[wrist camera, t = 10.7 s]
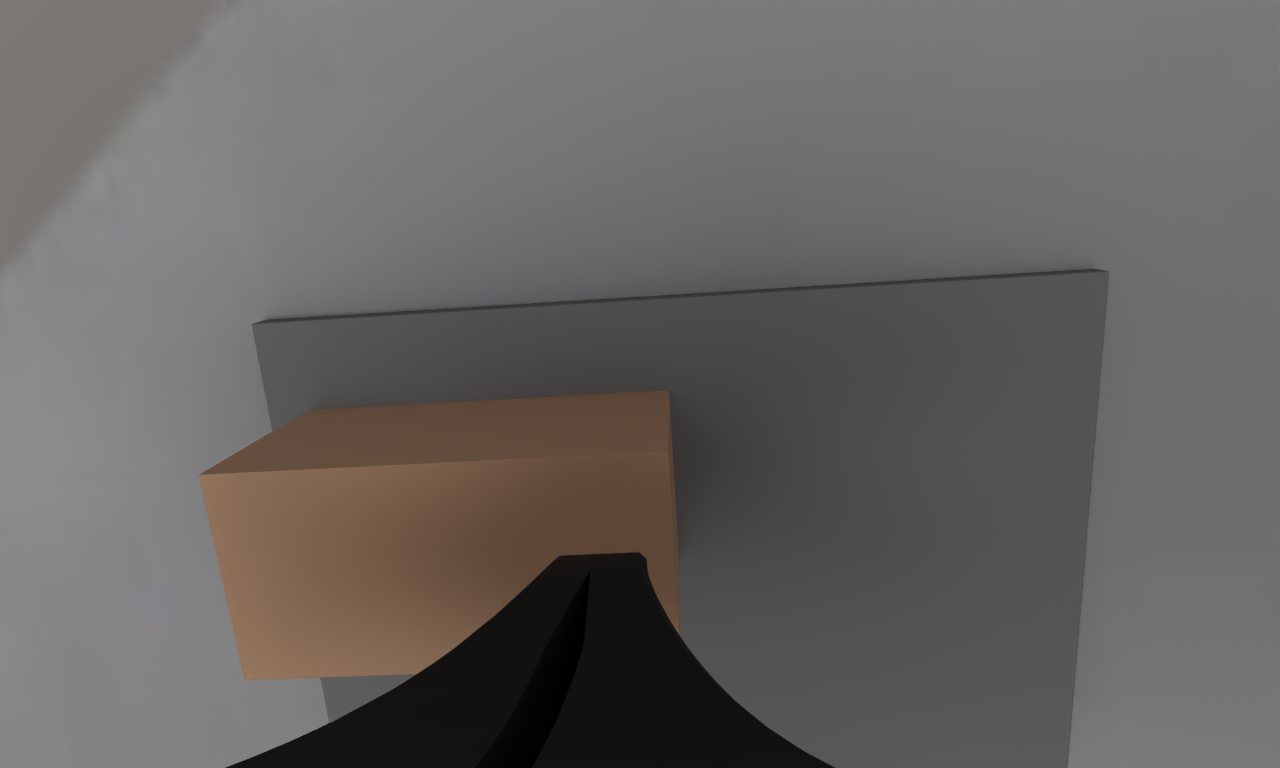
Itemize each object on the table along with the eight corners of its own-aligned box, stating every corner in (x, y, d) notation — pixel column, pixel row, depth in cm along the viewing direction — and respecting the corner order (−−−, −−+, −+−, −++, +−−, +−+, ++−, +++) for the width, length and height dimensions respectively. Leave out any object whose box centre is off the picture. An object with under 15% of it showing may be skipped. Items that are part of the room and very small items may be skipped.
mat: (1095, 268, 16) (1108, 271, 15) (1056, 754, 18) (1066, 770, 18) (264, 320, 17) (251, 324, 16) (350, 773, 19) (341, 788, 19)
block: (668, 451, 12) (198, 475, 13) (681, 665, 13) (244, 680, 14) (668, 390, 16) (309, 410, 17) (679, 558, 17) (339, 572, 17)
